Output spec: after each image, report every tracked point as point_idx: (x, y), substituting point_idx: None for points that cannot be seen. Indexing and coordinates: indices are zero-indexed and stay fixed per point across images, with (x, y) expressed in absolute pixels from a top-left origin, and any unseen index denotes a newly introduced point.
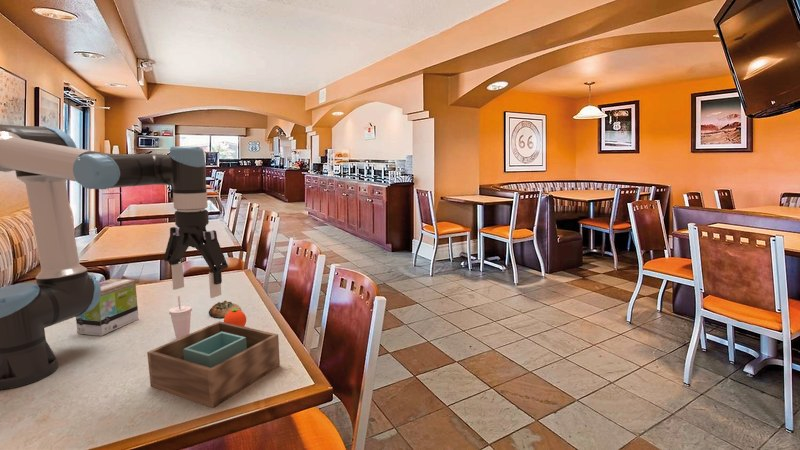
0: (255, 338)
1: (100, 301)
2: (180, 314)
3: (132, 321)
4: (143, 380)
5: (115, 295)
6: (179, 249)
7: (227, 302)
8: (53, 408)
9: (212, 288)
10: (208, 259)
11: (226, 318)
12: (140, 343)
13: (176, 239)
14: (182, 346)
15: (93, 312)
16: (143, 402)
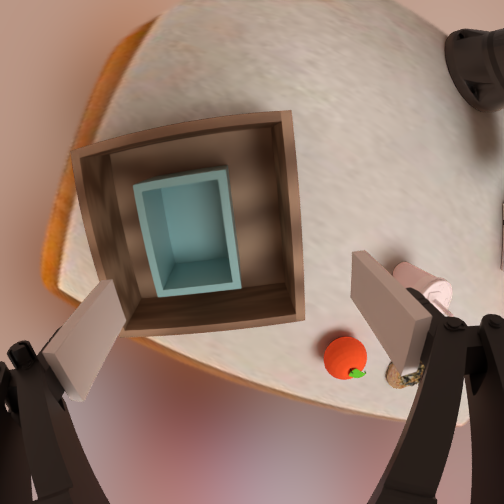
0: (176, 317)
1: None
2: (420, 290)
3: (502, 258)
4: (312, 125)
5: None
6: (397, 458)
7: (414, 381)
8: (342, 14)
9: (84, 304)
10: (20, 413)
11: (353, 349)
12: (446, 218)
13: (490, 499)
14: (285, 200)
15: None
16: (228, 82)
